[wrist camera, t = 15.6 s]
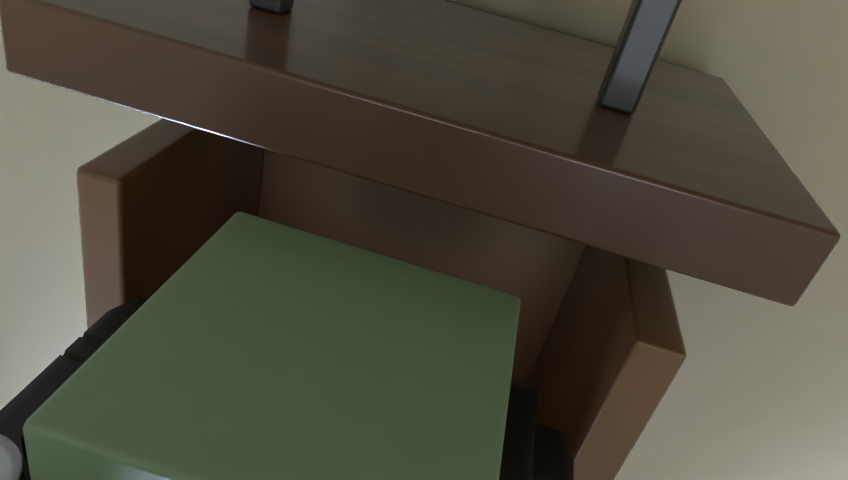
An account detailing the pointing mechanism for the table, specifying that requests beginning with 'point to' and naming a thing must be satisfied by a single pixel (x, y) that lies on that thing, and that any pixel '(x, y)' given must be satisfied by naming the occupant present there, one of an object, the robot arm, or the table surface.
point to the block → (289, 372)
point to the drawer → (439, 170)
